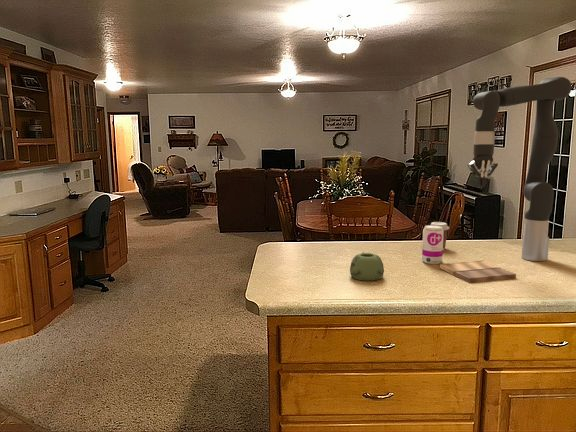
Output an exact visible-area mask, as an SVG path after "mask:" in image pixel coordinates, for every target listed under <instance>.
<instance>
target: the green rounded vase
mask: <svg viewBox="0 0 576 432" xmlns="http://www.w3.org/2000/svg"><path fill="white" fill-rule="evenodd" d="M349 273H350V276H352V277H353V278H354V279H356V280H358V281H367V282H371V281H378V280H380V279H381V278H383V277H384V273H385V266H384V263H383V260H382V258H381V257H380V256H379V255H378V254H375V253H370V252H364V251H363V252H361V253H357V254H356V255H355V256H354V257H353V258H352V259H351V262H350V266H349Z"/></svg>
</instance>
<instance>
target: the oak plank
mask: <svg viewBox="0 0 576 432" xmlns="http://www.w3.org/2000/svg"><path fill="white" fill-rule="evenodd" d="M439 264H440V265H439V267H440V269H441V270H443V271H444V272H447V273H448V274H450V275H452V276H454V274H455V271H466V270H477V269H488V268H499V267H500V266H497V265H495V264H493V263H491V262H488V261H485V260H484V259H483V260H474V261H472V260H471V261H462V262H449V263H439Z"/></svg>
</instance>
